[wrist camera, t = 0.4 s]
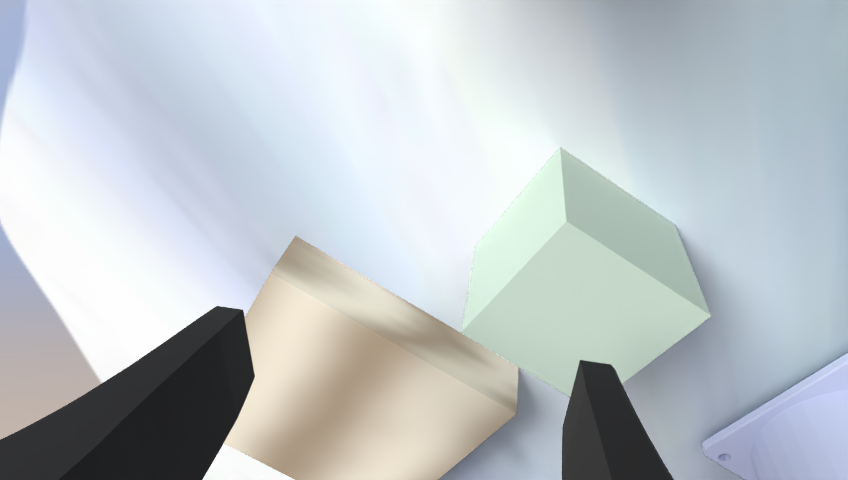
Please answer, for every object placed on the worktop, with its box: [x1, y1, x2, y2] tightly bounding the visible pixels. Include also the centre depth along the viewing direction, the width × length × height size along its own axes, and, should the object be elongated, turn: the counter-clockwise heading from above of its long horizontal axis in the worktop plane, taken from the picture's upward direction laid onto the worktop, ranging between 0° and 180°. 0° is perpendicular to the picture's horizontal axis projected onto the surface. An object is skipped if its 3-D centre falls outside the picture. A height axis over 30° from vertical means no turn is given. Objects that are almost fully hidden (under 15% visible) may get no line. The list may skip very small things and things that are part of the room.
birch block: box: [224, 236, 519, 480], centre depth 26 cm, size 11×11×3 cm
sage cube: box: [461, 147, 711, 397], centre depth 18 cm, size 5×5×5 cm
